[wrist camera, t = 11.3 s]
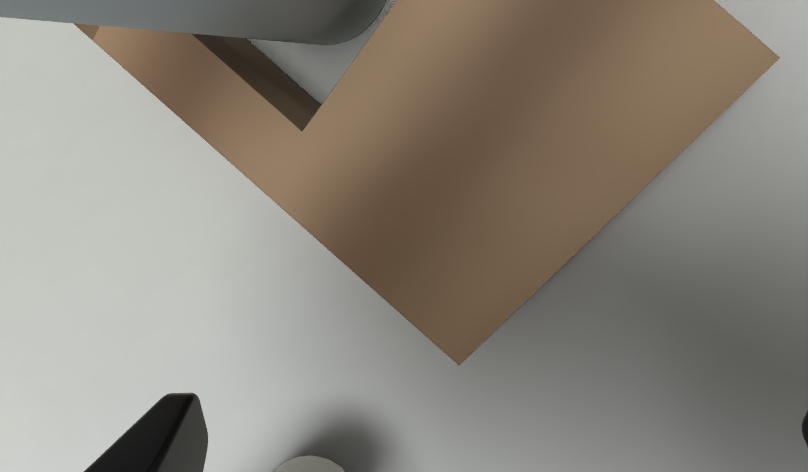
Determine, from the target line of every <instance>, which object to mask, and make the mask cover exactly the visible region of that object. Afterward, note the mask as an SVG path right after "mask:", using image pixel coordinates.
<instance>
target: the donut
mask: <svg viewBox="0 0 808 472" xmlns="http://www.w3.org/2000/svg"><path fill="white" fill-rule="evenodd" d="M274 472H345V471H344V470H343V468H342V467H341V466H339V465H337V464H336V463H334V462H332V461H331V460H329V459H326V458H321V457H317V456H311V455H309V456H301V457H295V458H293V459H291V460H289V461H286V462H284V463H282V464H281V465H280V466H279V467H278V468H277V469H276V470H275V471H274Z"/></svg>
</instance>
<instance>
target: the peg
mask: <svg viewBox="0 0 808 472" xmlns="http://www.w3.org/2000/svg"><path fill="white" fill-rule="evenodd" d="M385 2H386V0H0V17H7V18H19V19H30V20H42V21H53V22H65V23H76V24H88V25H99V26H111V27H122V28H134V29H145V30H157V31H168V32H180V33H191V34H203V35H214V36H226V37H237V38H249V39H260V40H272V41H283V42H295V43H306V44H318V45H331V44H338V43H342V42H345V41H347V40H350V39H352V38H354V37H356V36H357V35H359V34H360V33H362V32H363V31H364V30H365V29H367V28H368V27H369V26H370V25H371V24H372V22H373V21H374V20H375V19H376V17H377V16H378V15H379V13H380V12H381V10H382V8H383V6H384V4H385Z"/></svg>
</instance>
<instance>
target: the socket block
mask: <svg viewBox="0 0 808 472" xmlns="http://www.w3.org/2000/svg"><path fill="white" fill-rule="evenodd" d="M74 24H75V25H76V26H77V27H78V28H79V29H80V30H81V31H83V32H84V33H85V34H86V35H87V36H88V37H89V38H90V39H92V40H93V41H94V42H95V43H96V44H97V45H98V46H99V47H101V48H102V49H103V50H104V51H105V52H106V53H107V54H108V55H110V56H111V57H112V58H113V59H114V60H115V61H116V62H117V63H119V64H120V65H121V66H122V67H123V68H124V69H125V70H127V71H128V72H129V73H130V74H131V75H132V76H133V77H134V78H136V79H137V80H138V81H139V82H140V83H141V84H142V85H143V86H145V87H146V88H147V89H148V90H149V91H150V92H151V93H152V94H154V95H155V96H156V97H157V98H158V99H159V100H160V101H161V102H163V103H164V104H165V105H166V106H167V107H168V108H169V109H170V110H172V111H173V112H174V113H175V114H176V115H177V116H178V117H180V118H181V119H182V120H183V121H184V122H185V123H186V124H187V125H189V126H190V127H191V128H192V129H193V130H194V131H195V132H196V133H198V134H199V135H200V136H201V137H202V138H203V139H204V140H205V141H207V142H208V143H209V144H210V145H211V146H212V147H213V148H214V149H216V150H217V151H218V152H219V153H220V154H221V155H222V156H223V157H225V158H226V159H227V160H228V161H229V162H230V163H231V164H232V165H234V166H235V167H236V168H237V169H238V170H239V171H240V172H242V173H243V174H244V175H245V176H246V177H247V178H248V179H249V180H251V181H252V182H253V183H254V184H255V185H256V186H257V187H258V188H260V189H261V190H262V191H263V192H264V193H265V194H266V195H267V196H269V197H270V198H271V199H272V200H273V201H274V202H275V203H276V204H278V205H279V206H280V207H281V208H282V209H283V210H284V211H285V212H287V213H288V214H289V215H290V216H291V217H292V218H293V219H294V220H296V221H297V222H298V223H299V224H300V225H301V226H302V227H304V228H305V229H306V230H307V231H308V232H309V233H310V234H311V235H313V236H314V237H315V238H316V239H317V240H318V241H319V242H320V243H322V244H323V245H324V246H325V247H326V248H327V249H328V250H329V251H331V252H332V253H333V254H334V255H335V256H336V257H337V258H338V259H340V260H341V261H342V262H343V263H344V264H345V265H346V266H347V267H349V268H350V269H351V270H352V271H353V272H354V273H355V274H357V275H358V276H359V277H360V278H361V279H362V280H363V281H364V282H366V283H367V284H368V285H369V286H370V287H371V288H372V289H373V290H375V291H376V292H377V293H378V294H379V295H380V296H381V297H382V298H384V299H385V300H386V301H387V302H388V303H389V304H390V305H391V306H393V307H394V308H395V309H396V310H397V311H398V312H399V313H400V314H402V315H403V316H404V317H405V318H406V319H407V320H408V321H409V322H411V323H412V324H413V325H414V326H415V327H416V328H417V329H419V330H420V331H421V332H422V333H423V334H424V335H425V336H426V337H428V338H429V339H430V340H431V341H432V342H433V343H434V344H435V345H437V346H438V347H439V348H440V349H441V350H442V351H443V352H444V353H446V354H447V355H448V356H449V357H450V358H451V359H452V360H453V361H455V362H456V363H457V364H458V365H460V364H461V363H462V362H463V361H464V360H465V359H466V358H467V357H468V356H469V355H470V354H471V353H473V352H474V351H475V350H476V349H477V348H478V347H479V346H480V345H481V344H482V343H483V342H484V341H485V340H486V339H487V338H488V337H489V336H490V335H491V334H492V333H493V332H494V331H495V330H497V329H498V328H499V327H500V326H501V325H502V324H503V323H504V322H505V321H506V320H507V319H508V318H509V317H510V316H511V315H512V314H513V313H514V312H515V311H516V310H517V309H518V308H519V307H520V306H522V305H523V304H524V303H525V302H526V301H527V300H528V299H529V298H530V297H531V296H532V295H533V294H534V293H535V292H536V291H537V290H538V289H539V288H540V287H541V286H542V285H543V284H544V283H546V282H547V281H548V280H549V279H550V278H551V277H552V276H553V275H554V274H555V273H556V272H557V271H558V270H559V269H560V268H561V267H562V266H563V265H564V264H565V263H566V262H567V261H568V260H569V259H571V258H572V257H573V256H574V255H575V254H576V253H577V252H578V251H579V250H580V249H581V248H582V247H583V246H584V245H585V244H586V243H587V242H588V241H589V240H590V239H591V238H592V237H593V236H595V235H596V234H597V233H598V232H599V231H600V230H601V229H602V228H603V227H604V226H605V225H606V224H607V223H608V222H609V221H610V220H611V219H612V218H613V217H614V216H615V215H616V214H617V213H618V212H620V211H621V210H622V209H623V208H624V207H625V206H626V205H627V204H628V203H629V202H630V201H631V200H632V199H633V198H634V197H635V196H636V195H637V194H638V193H639V192H640V191H641V190H642V189H644V188H645V187H646V186H647V185H648V184H649V183H650V182H651V181H652V180H653V179H654V178H655V177H656V176H657V175H658V174H659V173H660V172H661V171H662V170H663V169H664V168H665V167H666V166H667V165H669V164H670V163H671V162H672V161H673V160H674V159H675V158H676V157H677V156H678V155H679V154H680V153H681V152H682V151H683V150H684V149H685V148H686V147H687V146H688V145H689V144H690V143H691V142H693V141H694V140H695V139H696V138H697V137H698V136H699V135H700V134H701V133H702V132H703V131H704V130H705V129H706V128H707V127H708V126H709V125H710V124H711V123H712V122H713V121H714V120H715V119H717V118H718V117H719V116H720V115H721V114H722V113H723V112H724V111H725V110H726V109H727V108H728V107H729V106H730V105H731V104H732V103H733V102H734V101H735V100H736V99H737V98H738V97H739V96H740V95H742V94H743V93H744V92H745V91H746V90H747V89H748V88H749V87H750V86H751V85H752V84H753V83H754V82H755V81H756V80H757V79H758V78H759V77H760V76H761V75H762V74H763V73H764V72H766V71H767V70H768V69H769V68H770V67H771V66H772V65H773V64H774V63H775V62H776V61H777V60H778V59H779V58H780V57H779V56H777V55H776V54H775V53H774V52H773V51H772V50H770V49H769V48H768V47H767V46H766V45H765V44H764V43H762V42H761V41H760V40H759V39H758V38H757V37H756V36H754V35H753V34H752V33H751V32H750V31H749V30H747V29H746V28H745V27H744V26H743V25H742V24H741V23H739V22H738V21H737V20H736V19H735V18H734V17H733V16H731V15H730V14H729V13H728V12H727V11H726V10H724V9H723V8H722V7H721V6H720V5H719V4H718V3H716V2H715V1H714V0H397V1H396V2H395V4H394V5H393V6H392V8H391V9H390V11H389V12H388V13H387V15H386V16H385V18H384V19H383V20H382V22H381V23H380V24H379V26H378V27H377V29H376V30H375V31H374V33H373V34H372V36H371V37H370V38H369V40H368V41H367V43H366V44H365V45H364V47H363V48H362V49H361V51H360V52H359V54H358V55H357V56H356V58H355V59H354V61H353V62H352V63H351V65H350V66H349V68H348V69H347V70H346V72H345V73H344V75H343V76H342V77H341V79H340V80H339V81H338V83H337V84H336V86H335V87H334V88H333V90H332V91H331V93H330V94H329V95H328V97H327V98H326V100H325V101H324V102H323V104H322V105H320V104H319V103H318V102H317V101H316V100H315V99H313V98H312V97H311V96H310V95H309V94H308V93H307V92H305V91H304V90H303V89H302V88H301V87H300V86H299V85H298V84H296V83H295V82H294V81H293V80H292V79H291V78H290V77H288V76H287V75H286V74H285V73H284V72H283V71H282V70H281V69H279V68H278V67H277V66H276V65H275V64H274V63H273V62H271V61H270V60H269V59H268V58H267V57H266V56H265V55H264V54H262V53H261V52H260V51H259V50H258V49H257V48H256V47H254V46H253V45H252V44H251V43H250V42H249V41H248V40H247V39H245V38H237V37H226V36H214V35H203V34H191V33H180V32H168V31H157V30H145V29H134V28H122V27H111V26H99V25H88V24H76V23H74Z"/></svg>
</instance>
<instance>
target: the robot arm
mask: <svg viewBox="0 0 808 472" xmlns="http://www.w3.org/2000/svg"><path fill="white" fill-rule="evenodd" d="M802 433H803V437H804V440H805V442H806V444H807V447H808V411H807V413H806V415H805V417H804V419H803V422H802ZM207 447H208V432H207V428H206V424H205V420H204V416H203V412H202V408H201V404H200V400H199V398H198V396H197V395H196V394H194V393H170V394H167V395H165V396H164V397H162V398H161V399H160V400H159V401H158V402H157V403H156V404H155V405H154V406H153V407H152V408H151V409H150V410H149V411H148V412H146V413H145V414H144V415H143V416H142V417H141V418H140V419H139V420H138V421H137V422H136V423H135V424H134V425H133V426H132V427H131V428H130V429H129V430H127V431H126V432H125V433H124V434H123V435H122V436H121V437H120V438H119V439H118V440H117V441H116V442H115V443H114V444H113V445H112V446H111V447H110V448H108V449H107V450H106V451H105V452H104V453H103V454H102V455H101V456H100V457H99V458H98V459H97V460H96V461H95V462H94V463H93V464H92V465H91V466H89V467H88V468H87V469H86V470H85V471H84V472H203V469H204V463H205V458H206V453H207Z"/></svg>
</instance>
